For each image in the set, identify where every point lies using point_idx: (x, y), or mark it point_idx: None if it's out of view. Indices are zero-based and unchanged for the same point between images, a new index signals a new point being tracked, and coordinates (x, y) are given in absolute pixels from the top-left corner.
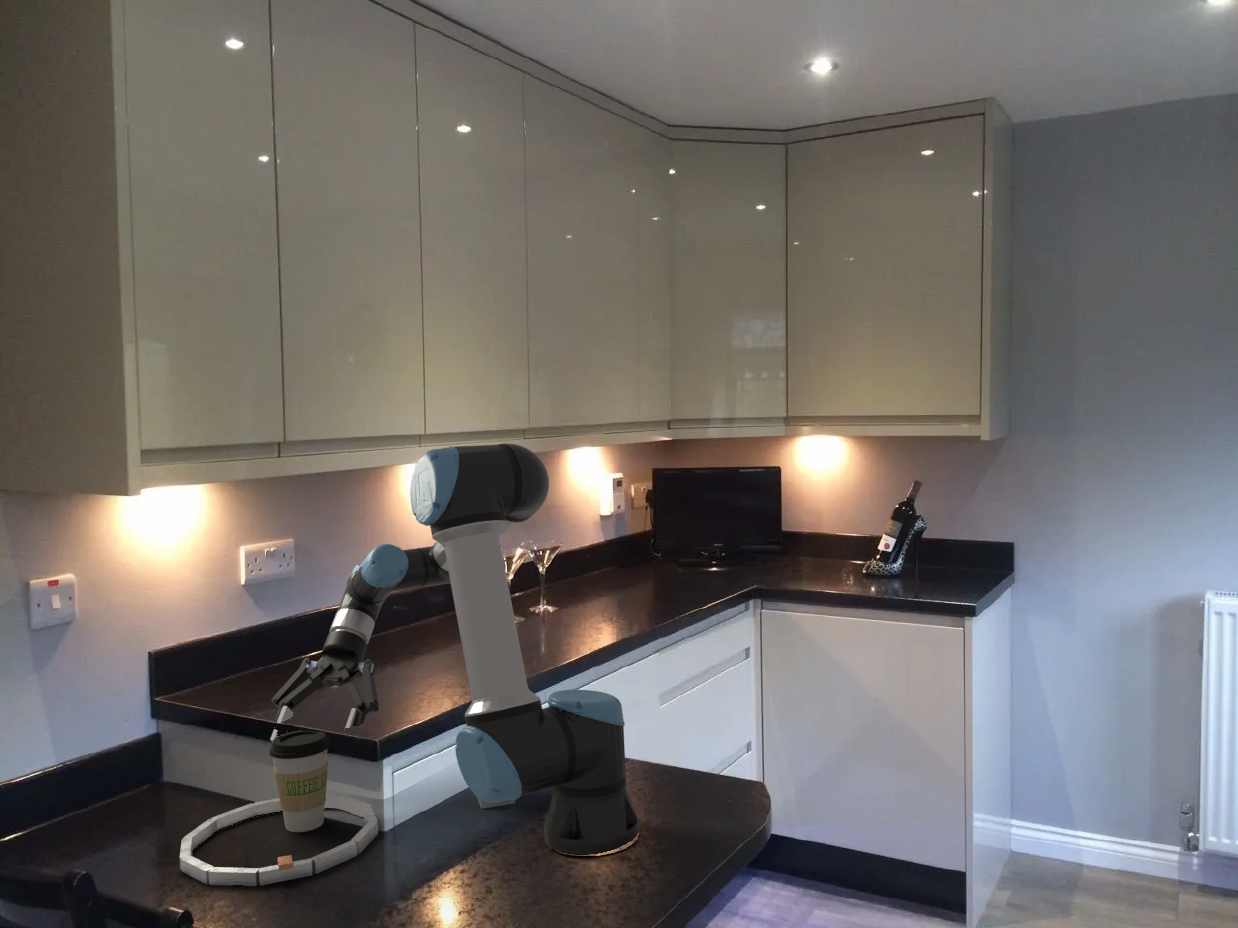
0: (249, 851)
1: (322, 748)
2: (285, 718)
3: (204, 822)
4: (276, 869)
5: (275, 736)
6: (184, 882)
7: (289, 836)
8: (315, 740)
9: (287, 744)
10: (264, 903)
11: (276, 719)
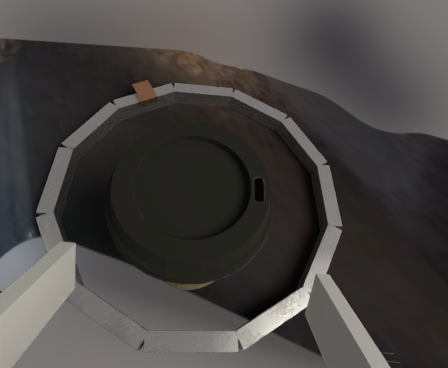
0: None
1: (113, 171)
2: (347, 356)
3: (338, 214)
4: (153, 89)
5: (319, 281)
6: None
7: None
8: (128, 156)
9: (202, 133)
10: (150, 67)
11: (379, 346)
